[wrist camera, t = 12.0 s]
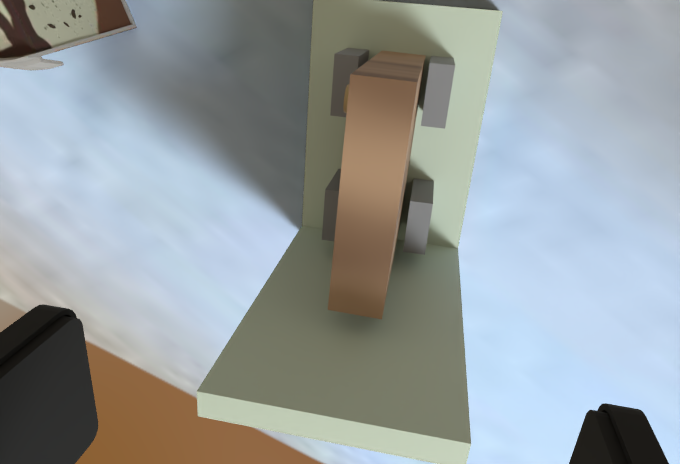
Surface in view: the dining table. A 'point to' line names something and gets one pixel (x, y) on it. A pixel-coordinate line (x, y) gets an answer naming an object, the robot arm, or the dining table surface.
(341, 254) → the wooden block
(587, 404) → the dining table surface
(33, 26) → the food container
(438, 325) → the hinge base
